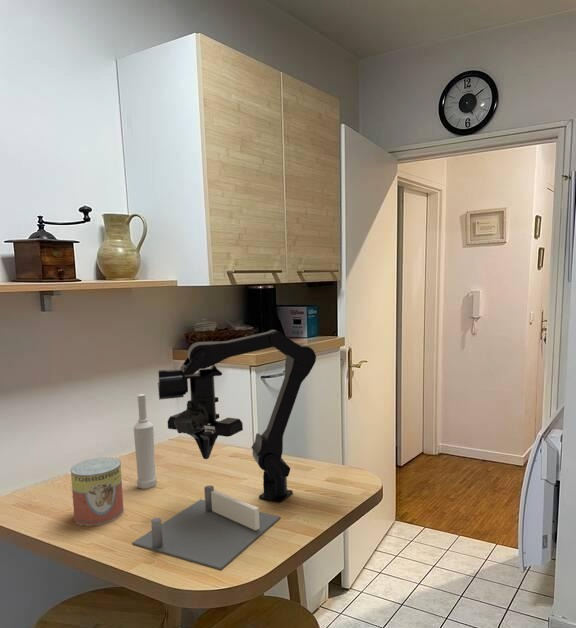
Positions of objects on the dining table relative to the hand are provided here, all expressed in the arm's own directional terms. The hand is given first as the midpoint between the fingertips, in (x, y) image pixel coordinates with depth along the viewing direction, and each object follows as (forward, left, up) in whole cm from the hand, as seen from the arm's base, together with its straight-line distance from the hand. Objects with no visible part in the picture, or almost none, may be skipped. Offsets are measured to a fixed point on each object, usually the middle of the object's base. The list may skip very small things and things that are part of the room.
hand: (206, 458), depth 123 cm
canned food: (+14, -22, -12) cm, 29 cm away
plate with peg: (+10, +7, -12) cm, 17 cm away
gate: (+4, +9, -11) cm, 15 cm away
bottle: (-4, -24, -12) cm, 27 cm away
